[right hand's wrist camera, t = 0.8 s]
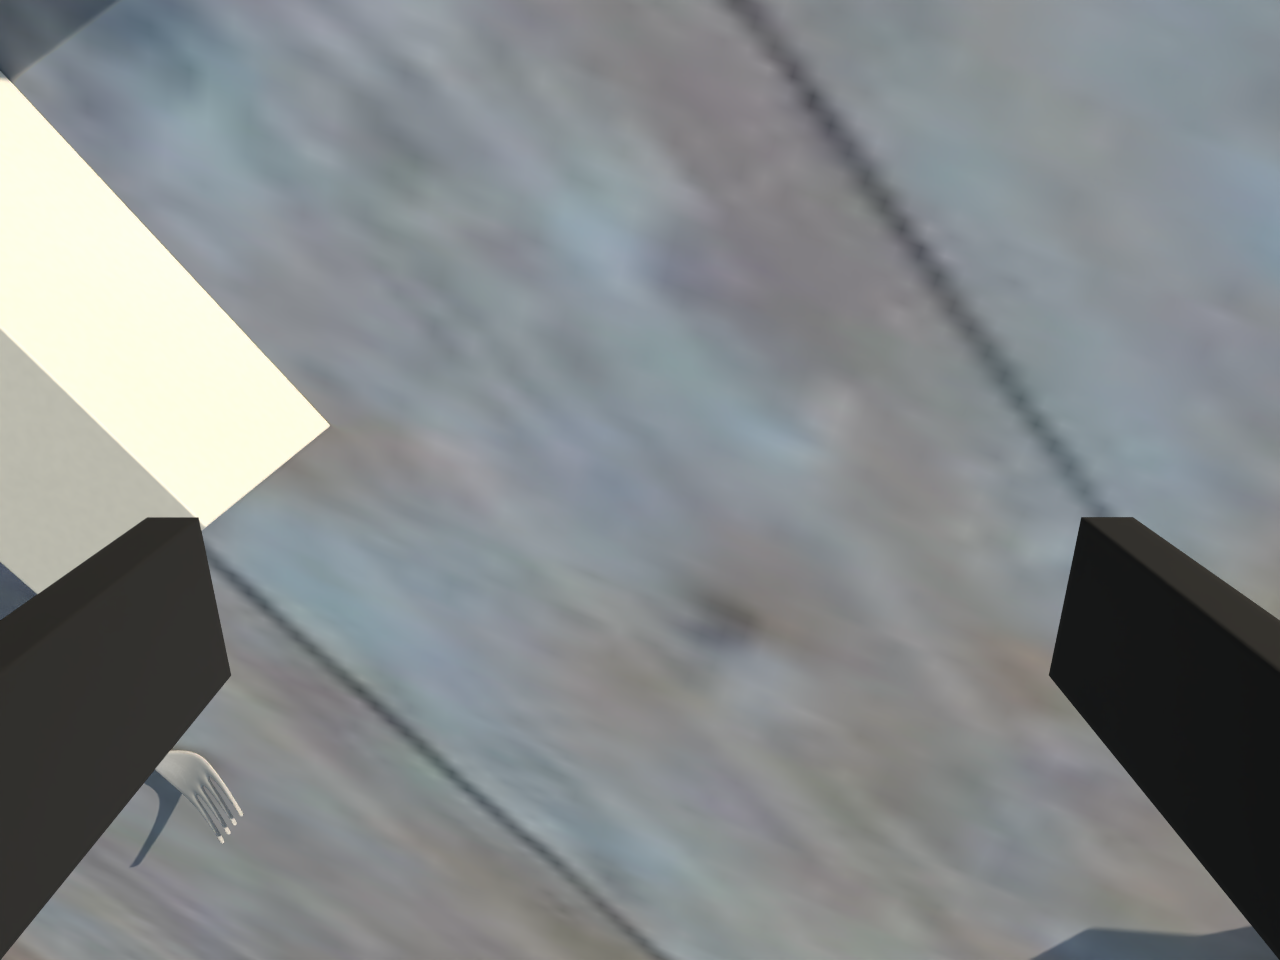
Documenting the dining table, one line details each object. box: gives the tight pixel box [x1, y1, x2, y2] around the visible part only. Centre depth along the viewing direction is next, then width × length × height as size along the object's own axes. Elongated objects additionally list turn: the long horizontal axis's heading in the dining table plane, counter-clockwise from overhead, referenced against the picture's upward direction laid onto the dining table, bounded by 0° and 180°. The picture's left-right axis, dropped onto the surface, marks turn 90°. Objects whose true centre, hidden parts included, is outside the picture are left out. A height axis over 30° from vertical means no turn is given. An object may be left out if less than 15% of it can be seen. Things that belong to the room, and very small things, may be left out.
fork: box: [155, 750, 243, 843], centre depth 40 cm, size 3×16×2 cm, turn 54°
